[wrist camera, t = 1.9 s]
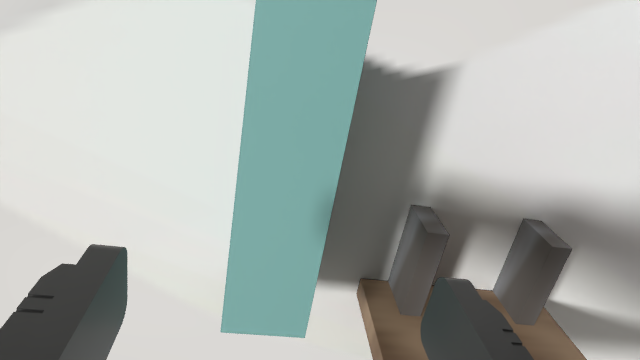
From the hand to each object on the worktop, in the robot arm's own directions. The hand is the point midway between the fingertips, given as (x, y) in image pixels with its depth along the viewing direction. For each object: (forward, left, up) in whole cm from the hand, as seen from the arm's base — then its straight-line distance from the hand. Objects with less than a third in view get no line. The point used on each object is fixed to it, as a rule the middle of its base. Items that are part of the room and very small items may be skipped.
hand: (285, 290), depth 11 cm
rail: (0, 0, -13) cm, 13 cm away
